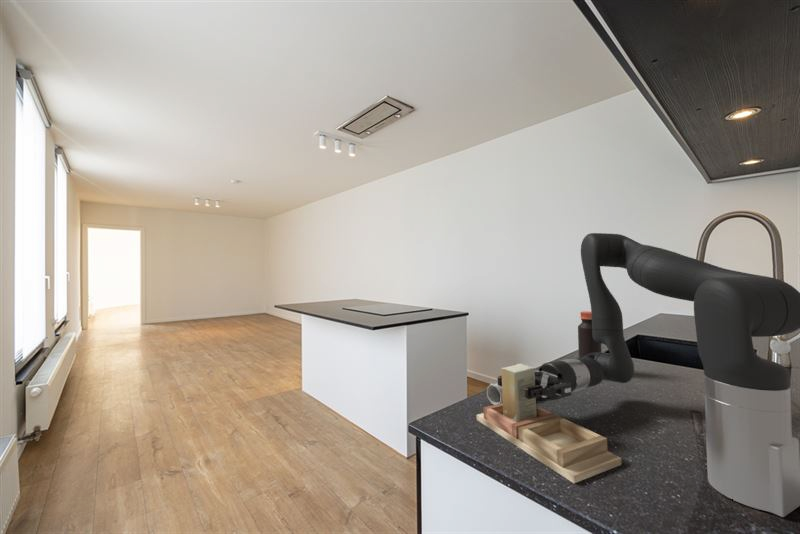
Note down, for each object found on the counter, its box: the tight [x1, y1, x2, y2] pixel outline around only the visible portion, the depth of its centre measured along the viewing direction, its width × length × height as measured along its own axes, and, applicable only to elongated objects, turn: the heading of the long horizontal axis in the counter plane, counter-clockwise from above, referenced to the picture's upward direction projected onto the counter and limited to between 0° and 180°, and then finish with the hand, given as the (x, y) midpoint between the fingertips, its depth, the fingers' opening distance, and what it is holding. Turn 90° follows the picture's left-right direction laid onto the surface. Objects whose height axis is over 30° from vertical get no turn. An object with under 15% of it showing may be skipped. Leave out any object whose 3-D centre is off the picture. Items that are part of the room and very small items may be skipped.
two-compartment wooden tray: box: [476, 403, 622, 484], centre depth 68 cm, size 26×12×4 cm, turn 24°
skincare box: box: [501, 363, 537, 423], centre depth 74 cm, size 6×4×12 cm
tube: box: [486, 382, 503, 405], centre depth 92 cm, size 5×5×25 cm
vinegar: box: [577, 311, 603, 358], centre depth 113 cm, size 7×7×20 cm
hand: (511, 387), depth 73 cm, fingers open, 8 cm apart
